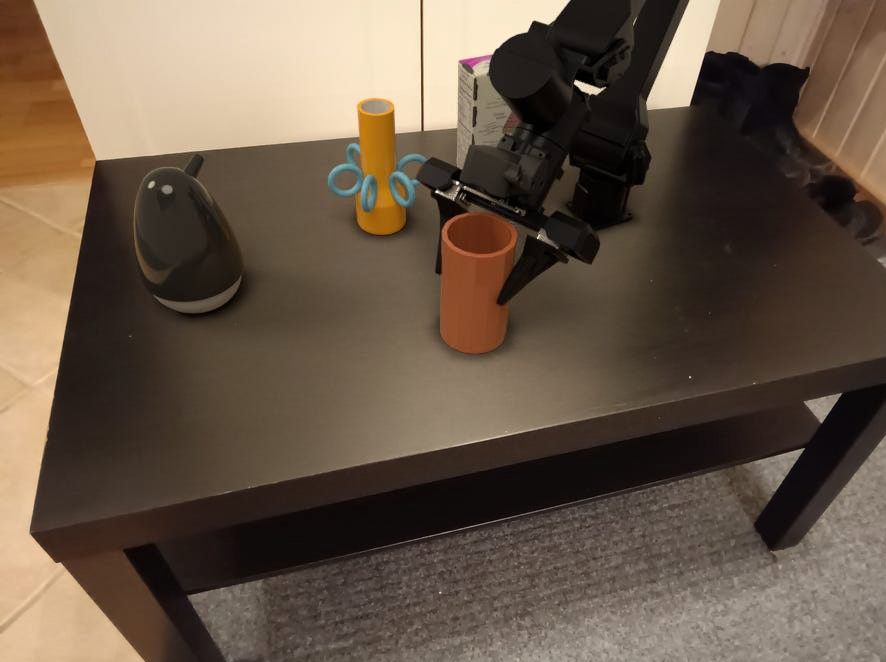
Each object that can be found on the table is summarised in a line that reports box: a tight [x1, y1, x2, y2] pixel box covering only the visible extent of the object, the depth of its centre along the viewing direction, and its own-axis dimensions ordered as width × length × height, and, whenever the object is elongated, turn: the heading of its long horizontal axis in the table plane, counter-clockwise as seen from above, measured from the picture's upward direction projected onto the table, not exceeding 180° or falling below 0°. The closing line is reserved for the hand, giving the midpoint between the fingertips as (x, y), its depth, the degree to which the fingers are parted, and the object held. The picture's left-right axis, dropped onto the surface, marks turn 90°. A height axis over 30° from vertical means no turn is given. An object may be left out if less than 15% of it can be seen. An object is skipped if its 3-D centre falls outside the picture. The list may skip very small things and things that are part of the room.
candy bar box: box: [456, 53, 519, 170], centre depth 89 cm, size 11×5×16 cm, turn 117°
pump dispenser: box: [132, 153, 245, 314], centre depth 70 cm, size 10×10×15 cm
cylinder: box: [327, 97, 428, 236], centre depth 81 cm, size 12×10×15 cm
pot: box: [439, 211, 519, 355], centre depth 70 cm, size 7×7×12 cm
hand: (467, 289), depth 69 cm, fingers closed on pot, 7 cm apart
